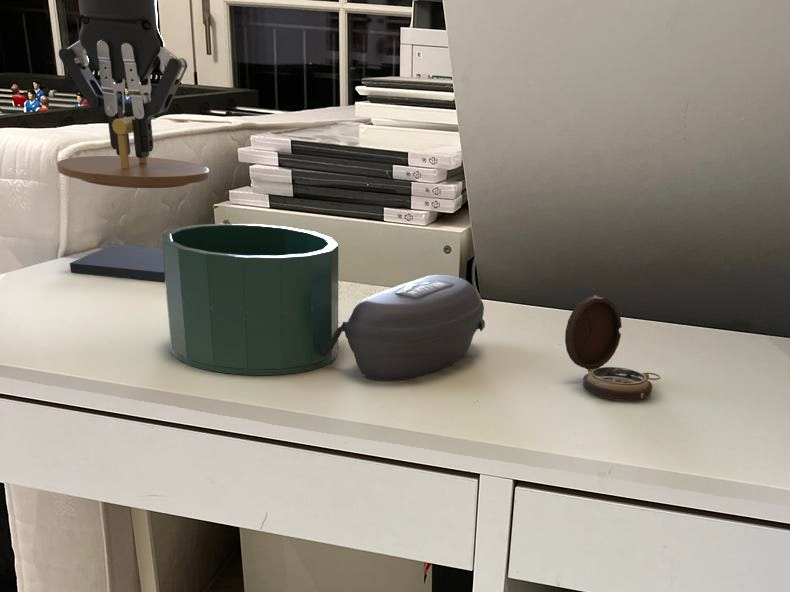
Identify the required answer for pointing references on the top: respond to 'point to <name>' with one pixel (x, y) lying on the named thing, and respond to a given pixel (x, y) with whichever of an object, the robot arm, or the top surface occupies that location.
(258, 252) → the toy tin
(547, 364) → the top surface
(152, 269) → the mat
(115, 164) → the lid
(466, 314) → the glasses case
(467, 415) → the top surface
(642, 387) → the compass
